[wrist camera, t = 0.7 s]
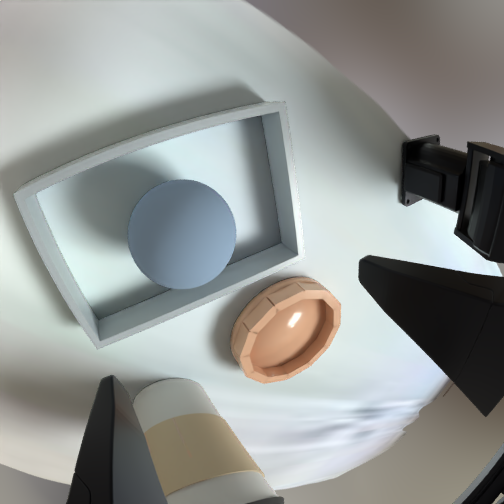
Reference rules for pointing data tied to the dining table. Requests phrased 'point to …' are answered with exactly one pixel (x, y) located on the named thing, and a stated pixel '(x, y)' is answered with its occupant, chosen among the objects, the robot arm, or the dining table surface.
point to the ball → (181, 234)
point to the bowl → (285, 329)
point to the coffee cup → (197, 448)
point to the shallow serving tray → (174, 299)
